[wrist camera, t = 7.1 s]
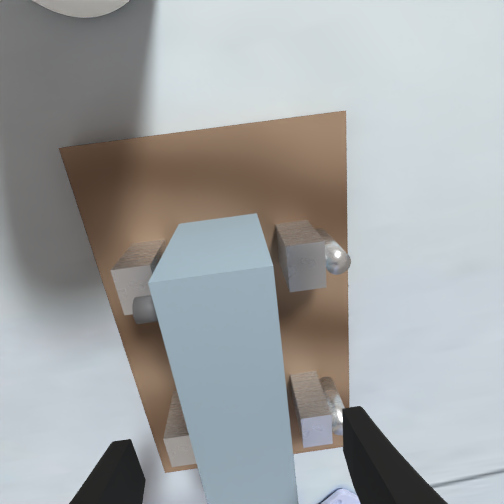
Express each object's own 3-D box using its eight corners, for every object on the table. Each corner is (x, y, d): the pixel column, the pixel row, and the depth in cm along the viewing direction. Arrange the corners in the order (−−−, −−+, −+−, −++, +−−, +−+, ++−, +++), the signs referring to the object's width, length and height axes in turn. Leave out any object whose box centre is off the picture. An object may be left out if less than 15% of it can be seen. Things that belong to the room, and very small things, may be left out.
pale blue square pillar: (279, 407, 19) (300, 522, 14) (203, 418, 19) (192, 538, 14) (256, 213, 15) (273, 265, 9) (157, 226, 15) (112, 287, 9)
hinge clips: (334, 395, 19) (352, 440, 16) (180, 417, 19) (171, 467, 16) (328, 217, 15) (350, 237, 12) (132, 243, 15) (110, 270, 12)
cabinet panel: (343, 429, 22) (349, 445, 21) (168, 454, 22) (165, 472, 21) (337, 111, 15) (346, 110, 13) (72, 146, 14) (58, 147, 13)
